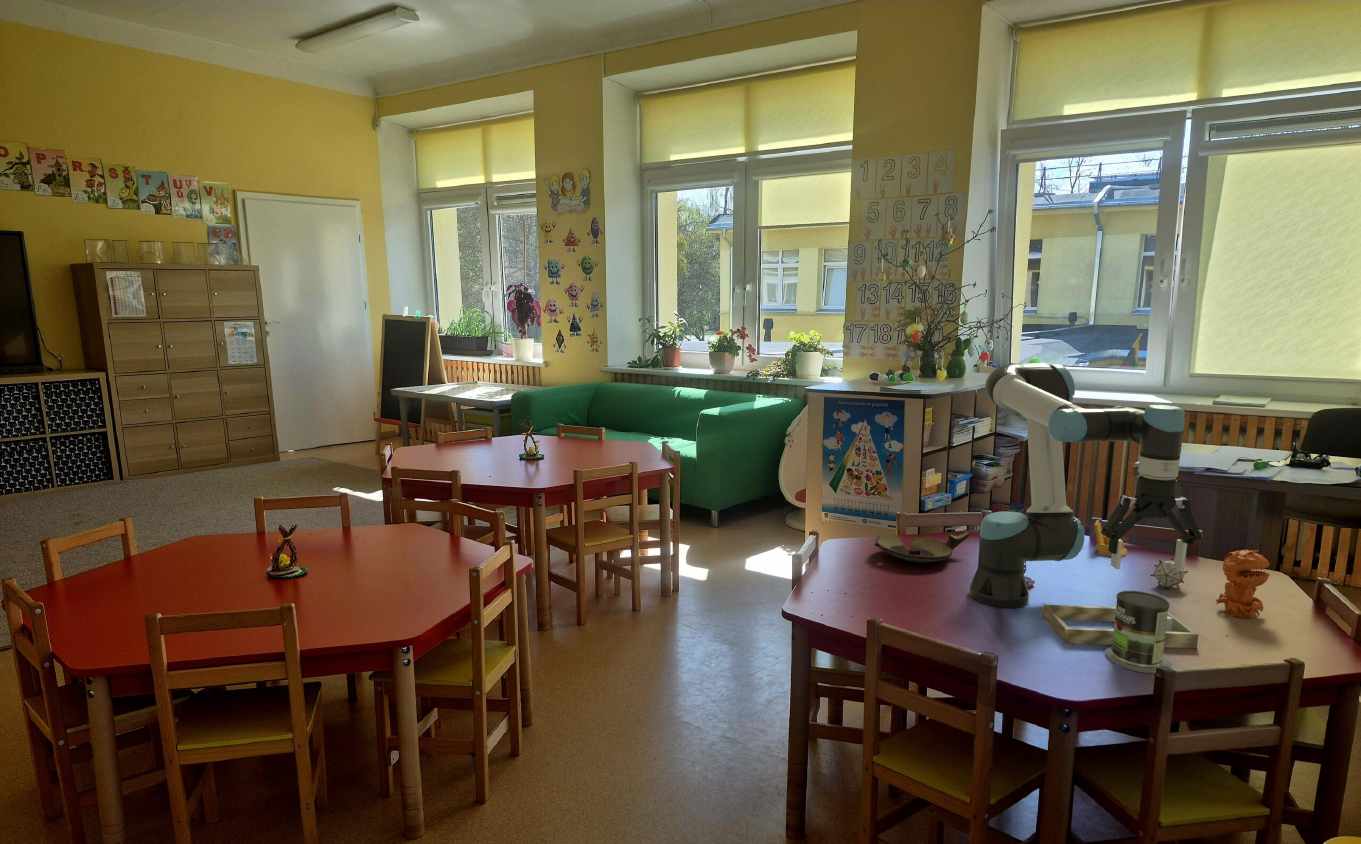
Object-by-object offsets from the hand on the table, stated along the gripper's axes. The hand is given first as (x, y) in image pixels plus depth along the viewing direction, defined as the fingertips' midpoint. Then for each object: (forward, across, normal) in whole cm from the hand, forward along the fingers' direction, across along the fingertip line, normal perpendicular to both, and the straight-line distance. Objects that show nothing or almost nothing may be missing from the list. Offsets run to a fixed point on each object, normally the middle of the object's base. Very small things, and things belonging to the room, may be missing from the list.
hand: (1146, 568), depth 174 cm
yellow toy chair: (+23, +29, +79) cm, 87 cm away
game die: (+22, +31, +48) cm, 61 cm away
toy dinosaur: (+22, +40, +30) cm, 55 cm away
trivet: (+22, 0, 0) cm, 22 cm away
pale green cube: (+22, +11, +15) cm, 29 cm away
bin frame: (+22, +2, +15) cm, 26 cm away
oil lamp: (+23, -34, +65) cm, 76 cm away
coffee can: (+22, 0, 0) cm, 22 cm away
